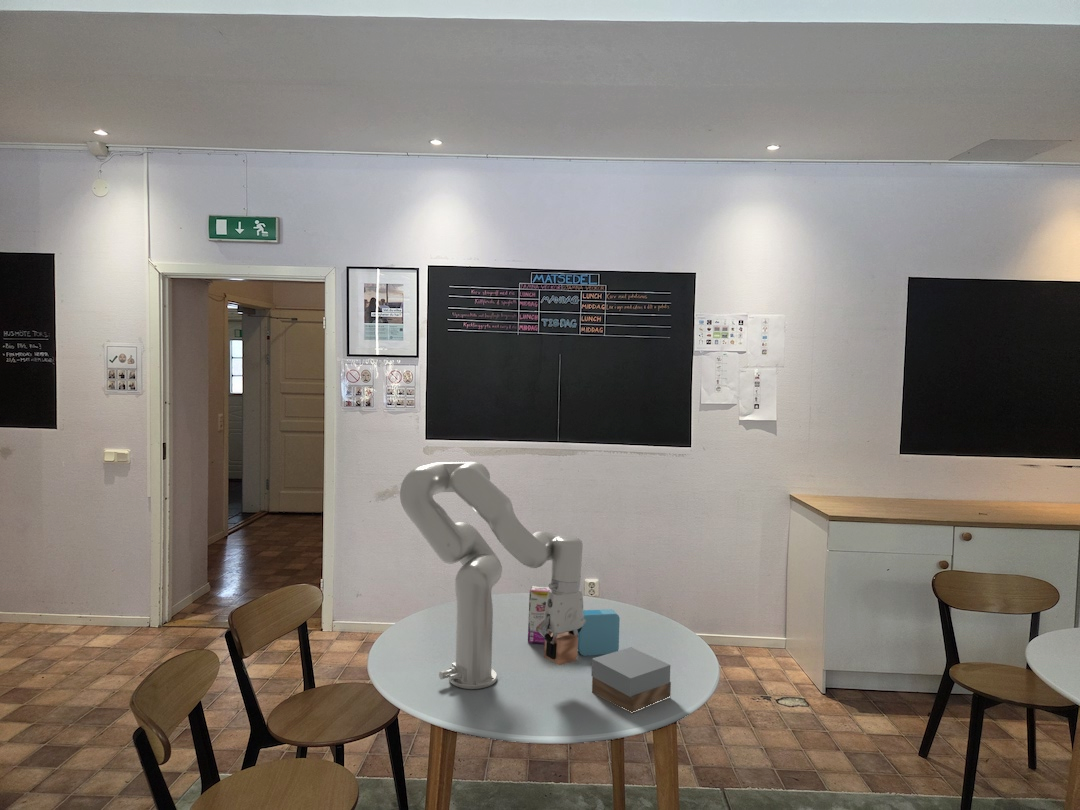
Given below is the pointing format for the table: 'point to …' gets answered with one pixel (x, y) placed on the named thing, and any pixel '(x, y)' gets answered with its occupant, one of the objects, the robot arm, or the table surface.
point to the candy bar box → (537, 613)
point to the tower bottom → (633, 701)
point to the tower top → (630, 671)
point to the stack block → (564, 648)
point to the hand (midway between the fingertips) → (560, 653)
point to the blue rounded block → (599, 632)
